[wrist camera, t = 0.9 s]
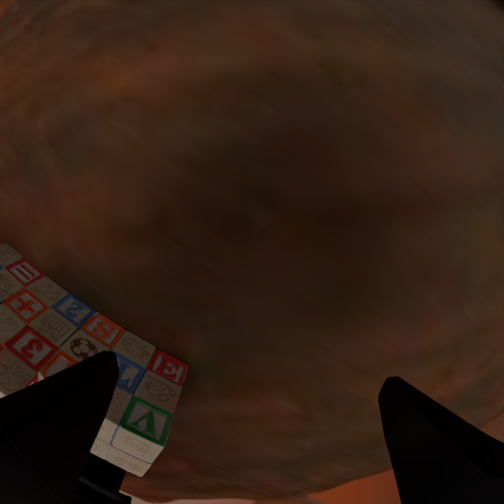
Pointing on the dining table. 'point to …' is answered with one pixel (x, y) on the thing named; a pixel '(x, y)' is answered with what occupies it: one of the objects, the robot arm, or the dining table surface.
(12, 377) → the stack of blocks
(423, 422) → the robot arm
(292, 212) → the dining table surface
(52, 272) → the dining table surface
